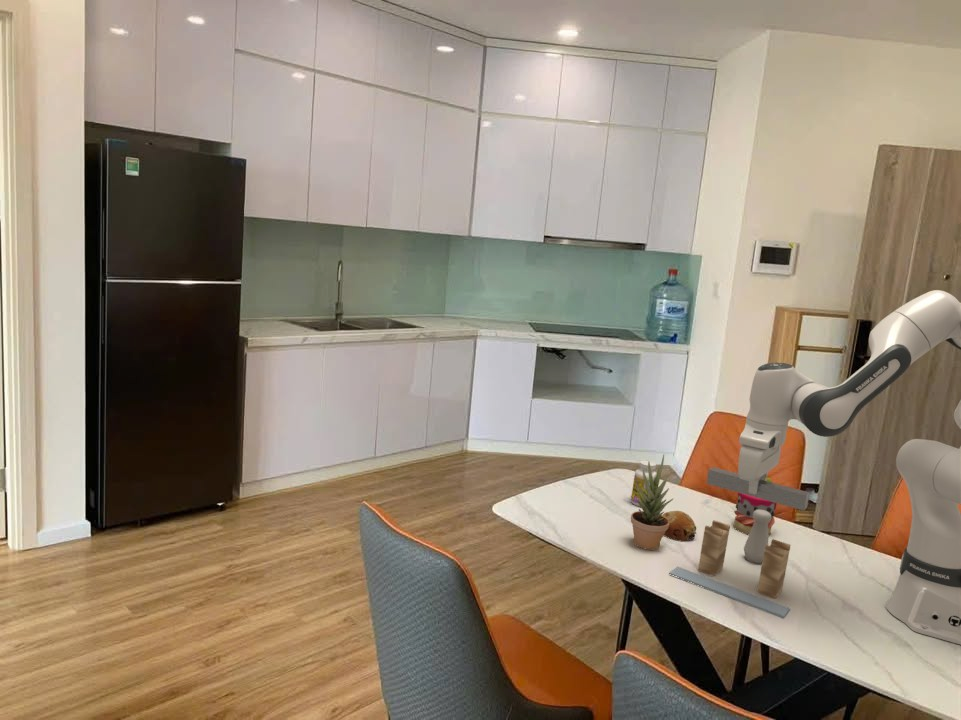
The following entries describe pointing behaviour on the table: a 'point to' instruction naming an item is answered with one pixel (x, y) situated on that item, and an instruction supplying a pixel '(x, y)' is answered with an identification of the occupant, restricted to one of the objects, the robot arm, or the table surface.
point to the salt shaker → (757, 537)
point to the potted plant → (650, 512)
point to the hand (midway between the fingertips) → (756, 490)
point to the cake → (752, 511)
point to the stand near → (773, 568)
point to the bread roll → (680, 526)
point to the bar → (765, 490)
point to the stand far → (713, 548)
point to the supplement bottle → (641, 480)
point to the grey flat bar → (732, 592)
